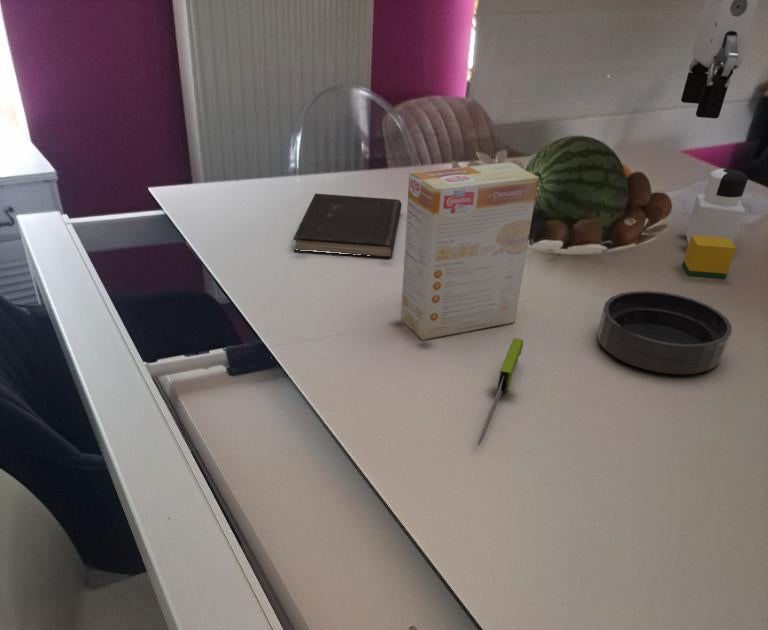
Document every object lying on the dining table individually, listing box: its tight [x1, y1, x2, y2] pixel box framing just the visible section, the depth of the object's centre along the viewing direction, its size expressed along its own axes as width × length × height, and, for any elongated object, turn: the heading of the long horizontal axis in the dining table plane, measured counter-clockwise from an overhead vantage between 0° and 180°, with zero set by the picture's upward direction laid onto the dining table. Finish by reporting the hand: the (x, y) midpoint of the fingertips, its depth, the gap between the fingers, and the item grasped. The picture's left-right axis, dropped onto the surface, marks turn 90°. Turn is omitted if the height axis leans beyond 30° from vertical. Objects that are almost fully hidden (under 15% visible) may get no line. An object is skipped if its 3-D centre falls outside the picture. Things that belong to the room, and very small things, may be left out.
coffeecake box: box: [400, 161, 540, 341], centre depth 97 cm, size 15×7×20 cm, turn 115°
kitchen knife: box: [477, 337, 524, 446], centre depth 86 cm, size 22×1×3 cm, turn 161°
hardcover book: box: [292, 193, 402, 260], centre depth 127 cm, size 16×23×2 cm
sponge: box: [681, 235, 737, 279], centre depth 119 cm, size 6×4×5 cm
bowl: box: [596, 290, 733, 375], centre depth 98 cm, size 16×16×4 cm
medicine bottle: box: [685, 168, 749, 245], centre depth 128 cm, size 7×7×12 cm
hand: (698, 109), depth 110 cm, fingers open, 9 cm apart
